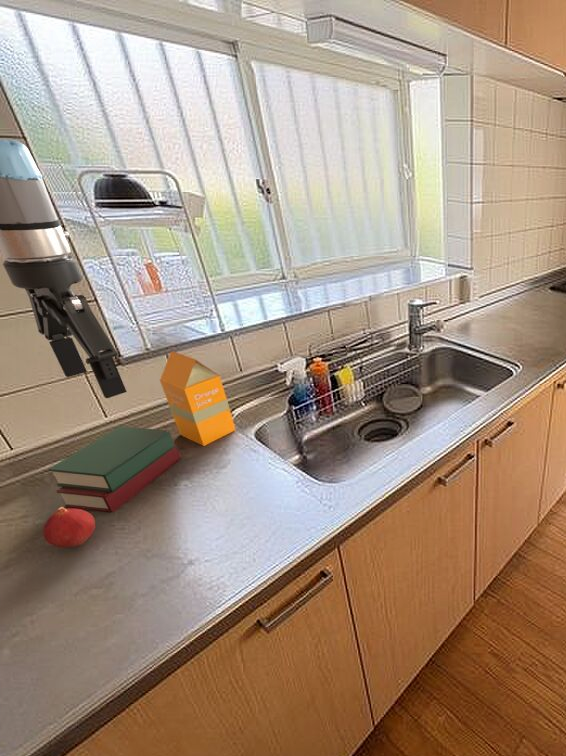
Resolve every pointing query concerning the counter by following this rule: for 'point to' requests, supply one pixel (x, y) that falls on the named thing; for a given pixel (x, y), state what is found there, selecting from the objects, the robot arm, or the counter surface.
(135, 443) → the green book
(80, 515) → the pomegranate
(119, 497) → the burgundy book
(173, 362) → the orange juice
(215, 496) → the counter surface
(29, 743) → the counter surface
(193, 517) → the counter surface
